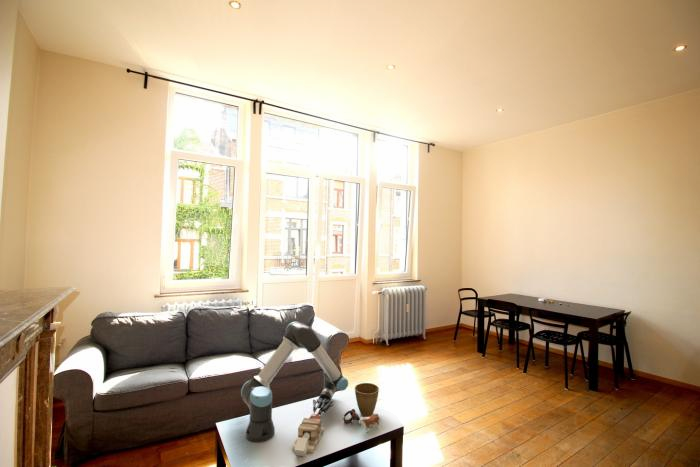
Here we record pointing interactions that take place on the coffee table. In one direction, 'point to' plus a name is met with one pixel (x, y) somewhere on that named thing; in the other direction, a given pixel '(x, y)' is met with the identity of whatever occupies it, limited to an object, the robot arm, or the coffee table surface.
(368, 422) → the bull figurine
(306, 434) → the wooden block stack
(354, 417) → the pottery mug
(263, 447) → the coffee table surface
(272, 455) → the coffee table surface
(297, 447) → the block
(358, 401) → the plant pot
